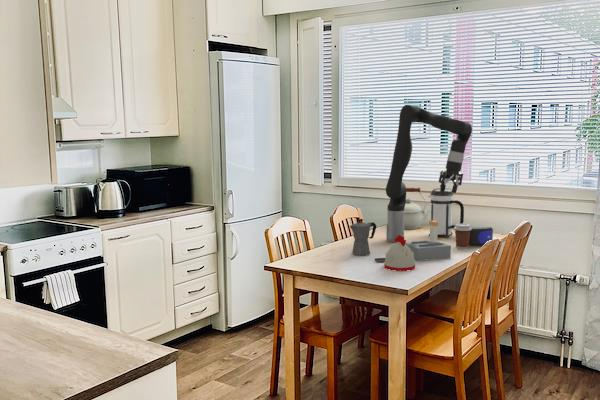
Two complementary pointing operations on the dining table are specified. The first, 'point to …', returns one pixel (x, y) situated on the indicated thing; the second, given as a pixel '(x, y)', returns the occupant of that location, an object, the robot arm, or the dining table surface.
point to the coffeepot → (362, 237)
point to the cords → (380, 259)
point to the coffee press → (444, 210)
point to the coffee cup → (462, 235)
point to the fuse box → (429, 250)
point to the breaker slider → (433, 232)
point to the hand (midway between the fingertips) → (447, 192)
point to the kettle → (413, 212)
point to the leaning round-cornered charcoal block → (480, 236)
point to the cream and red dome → (399, 256)
